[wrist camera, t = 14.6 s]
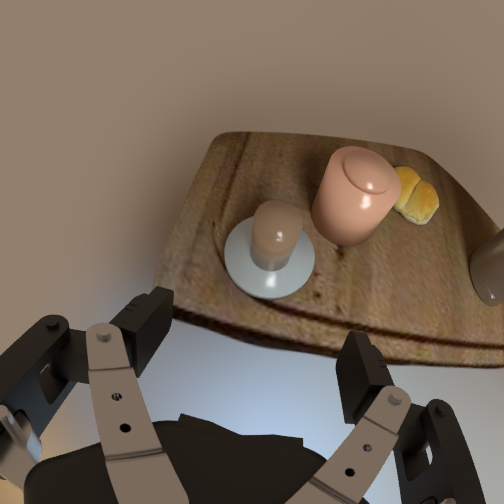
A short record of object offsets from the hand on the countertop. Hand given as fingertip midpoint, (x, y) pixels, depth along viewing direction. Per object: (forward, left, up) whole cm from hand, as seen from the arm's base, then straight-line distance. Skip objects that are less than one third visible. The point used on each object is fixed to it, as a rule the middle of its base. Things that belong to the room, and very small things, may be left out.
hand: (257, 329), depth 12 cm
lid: (-7, -7, -15) cm, 18 cm away
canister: (-18, -7, -15) cm, 25 cm away
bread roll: (-30, -4, -15) cm, 34 cm away
